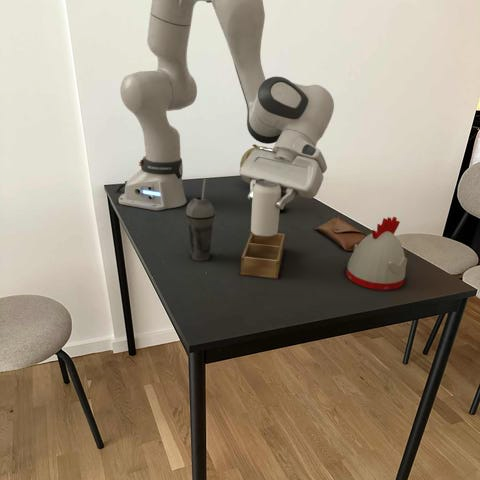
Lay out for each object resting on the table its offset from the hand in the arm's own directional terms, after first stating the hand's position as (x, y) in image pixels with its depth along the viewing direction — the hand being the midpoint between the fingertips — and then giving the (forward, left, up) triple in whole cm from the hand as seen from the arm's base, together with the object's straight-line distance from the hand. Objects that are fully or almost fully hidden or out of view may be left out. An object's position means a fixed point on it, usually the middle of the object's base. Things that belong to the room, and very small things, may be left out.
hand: (264, 203), depth 105 cm
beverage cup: (-16, +3, -17) cm, 23 cm away
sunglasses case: (+21, +26, -17) cm, 37 cm away
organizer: (0, +5, -17) cm, 17 cm away
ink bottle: (-2, +46, -17) cm, 49 cm away
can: (0, +1, -7) cm, 7 cm away
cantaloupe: (-9, +70, -17) cm, 73 cm away
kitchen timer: (+28, +3, -17) cm, 33 cm away
